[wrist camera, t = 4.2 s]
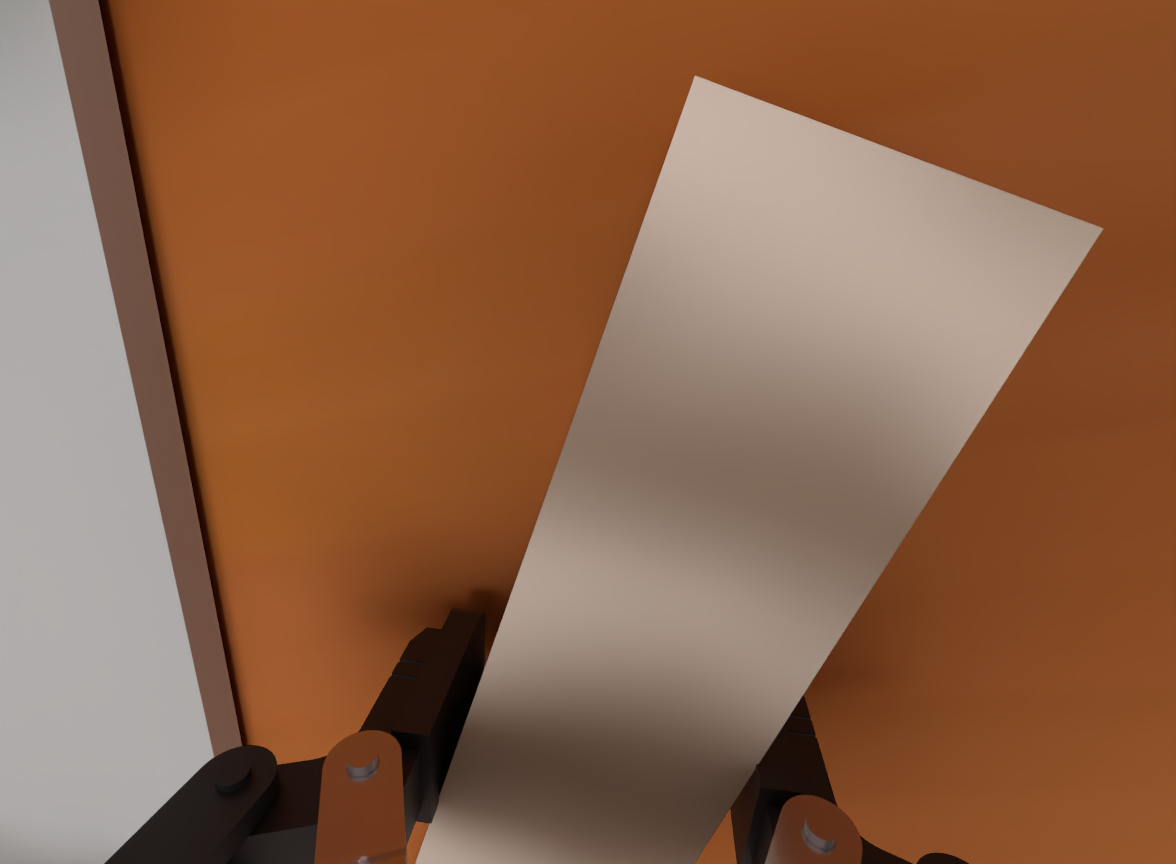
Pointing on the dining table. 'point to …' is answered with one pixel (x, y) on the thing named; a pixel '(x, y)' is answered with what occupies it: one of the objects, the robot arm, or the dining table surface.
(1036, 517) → the dining table surface
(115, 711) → the grey c-shaped frame
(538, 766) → the shelf board
